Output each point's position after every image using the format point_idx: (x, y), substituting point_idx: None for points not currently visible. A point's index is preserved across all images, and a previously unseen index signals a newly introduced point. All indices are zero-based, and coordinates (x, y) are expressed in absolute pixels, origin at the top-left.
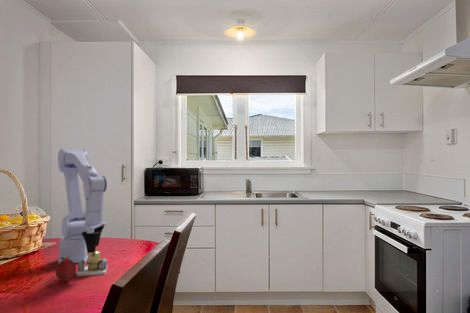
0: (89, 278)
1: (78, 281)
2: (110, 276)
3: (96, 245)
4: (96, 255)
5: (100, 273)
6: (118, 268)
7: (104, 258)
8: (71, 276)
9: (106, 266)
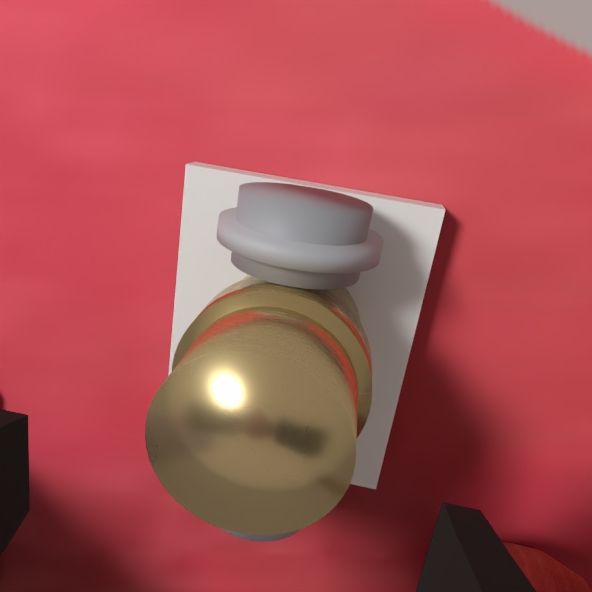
0: (504, 367)
1: (542, 463)
2: (555, 142)
3: (18, 443)
4: (350, 402)
5: (432, 258)
6: (279, 17)
7: (272, 240)
8: (563, 565)
9: (291, 186)
